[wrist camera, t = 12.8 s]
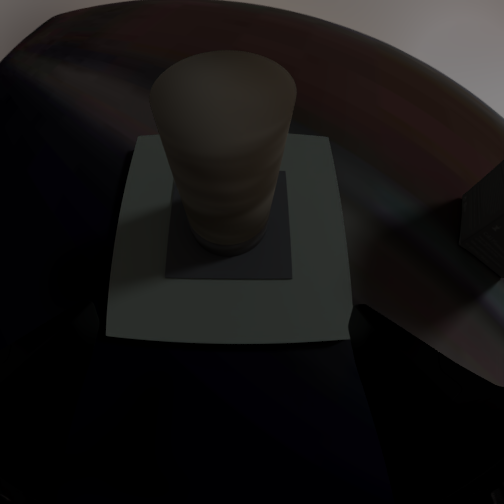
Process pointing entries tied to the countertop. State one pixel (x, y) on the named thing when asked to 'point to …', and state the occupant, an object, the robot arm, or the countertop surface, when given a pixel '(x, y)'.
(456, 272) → the countertop surface
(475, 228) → the skincare box
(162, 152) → the sage board
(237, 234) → the ash sleeve
